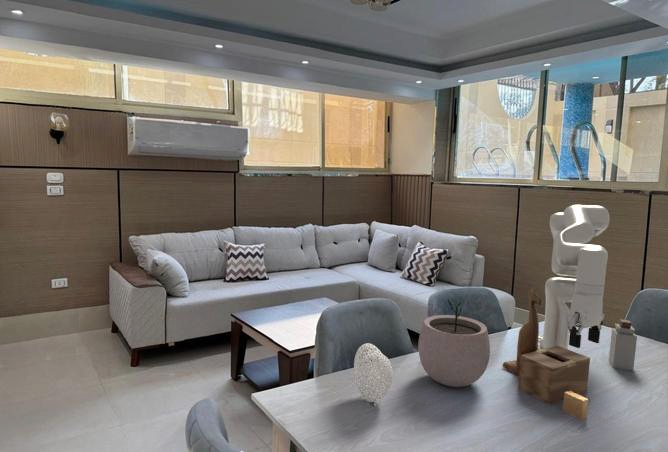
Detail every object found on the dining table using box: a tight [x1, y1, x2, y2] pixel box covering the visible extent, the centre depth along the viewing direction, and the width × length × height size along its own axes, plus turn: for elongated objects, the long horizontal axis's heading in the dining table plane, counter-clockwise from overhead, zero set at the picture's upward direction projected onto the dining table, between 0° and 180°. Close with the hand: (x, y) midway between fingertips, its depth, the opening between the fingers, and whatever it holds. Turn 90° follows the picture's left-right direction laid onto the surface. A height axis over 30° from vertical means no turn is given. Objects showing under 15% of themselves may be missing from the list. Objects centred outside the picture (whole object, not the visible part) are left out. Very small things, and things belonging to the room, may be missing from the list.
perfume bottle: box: [608, 318, 638, 371], centre depth 174 cm, size 7×7×18 cm
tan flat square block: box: [562, 391, 589, 421], centre depth 137 cm, size 6×2×6 cm, turn 30°
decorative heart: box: [353, 342, 394, 410], centre depth 140 cm, size 18×11×17 cm, turn 16°
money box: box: [517, 346, 591, 406], centre depth 152 cm, size 12×20×12 cm, turn 120°
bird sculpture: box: [502, 287, 542, 377], centre depth 164 cm, size 11×12×32 cm
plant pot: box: [417, 299, 491, 388], centre depth 155 cm, size 24×24×30 cm
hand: (584, 344), depth 136 cm, fingers open, 9 cm apart
